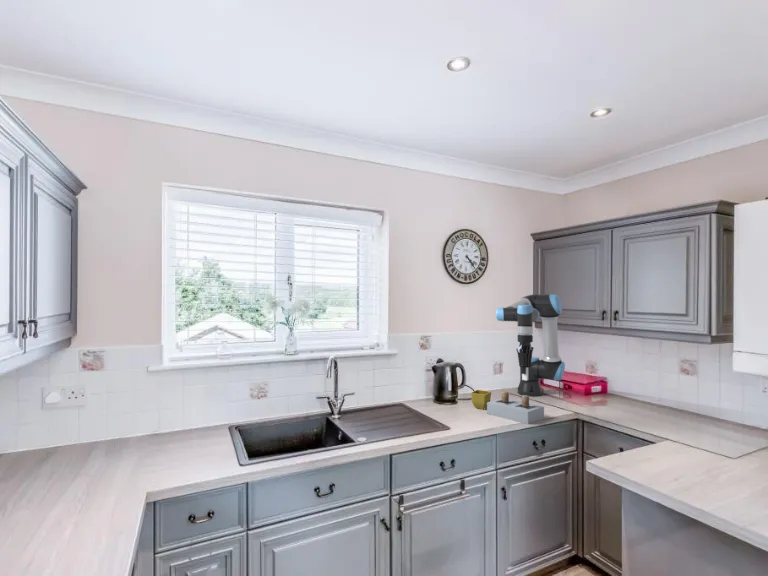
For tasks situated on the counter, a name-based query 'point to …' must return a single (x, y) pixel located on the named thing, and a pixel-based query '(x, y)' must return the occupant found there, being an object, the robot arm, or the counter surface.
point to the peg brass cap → (505, 397)
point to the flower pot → (480, 398)
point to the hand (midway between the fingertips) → (525, 379)
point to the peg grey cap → (525, 401)
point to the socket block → (515, 411)
